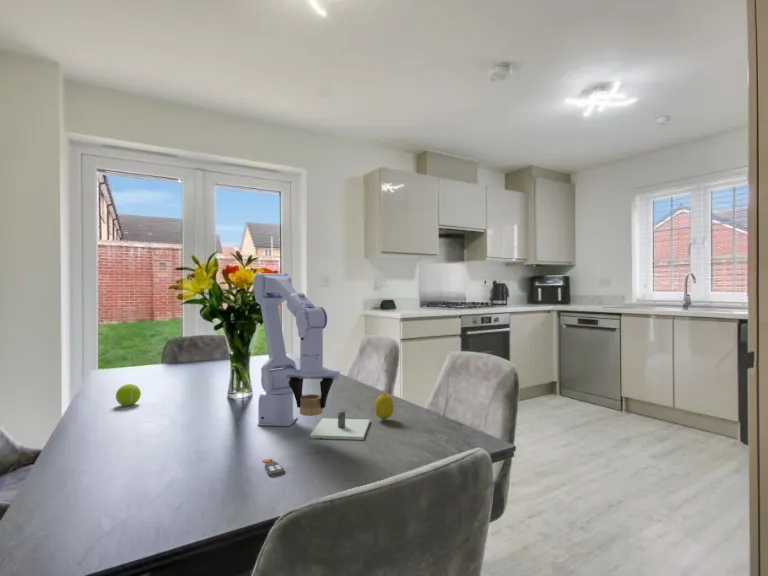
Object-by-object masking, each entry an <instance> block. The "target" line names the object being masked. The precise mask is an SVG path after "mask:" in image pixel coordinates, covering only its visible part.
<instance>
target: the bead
mask: <svg viewBox="0 0 768 576" xmlns="http://www.w3.org/2000/svg"><path fill="white" fill-rule="evenodd" d="M323 409H324V408H321V394H316V393H310V394H302V396H301V397H300V408H299V414H300V415H301V416H307V417H308V416H309V417H312V416H318V415H321V414H322V413H323V412H324V411H323Z"/></svg>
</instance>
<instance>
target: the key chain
mask: <svg viewBox="0 0 768 576" xmlns="http://www.w3.org/2000/svg"><path fill="white" fill-rule="evenodd" d="M261 462H262V463H263V462H265V464H264V470H265V471H267V472H266V473H267V475H268V477H272V478H273V477H276V476H281V475H284V474H286V470H285V468H284V467H283V466H282V465H281V464H280V463H278V462H277V461H275V460H274V458H270V459H266V458H265V459H263V460H262V461H261ZM267 462H268V463H267Z"/></svg>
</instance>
